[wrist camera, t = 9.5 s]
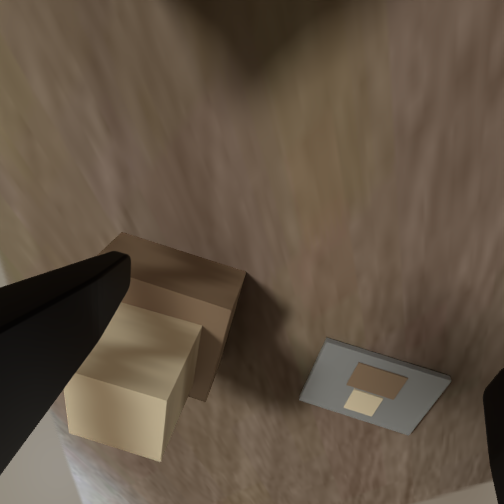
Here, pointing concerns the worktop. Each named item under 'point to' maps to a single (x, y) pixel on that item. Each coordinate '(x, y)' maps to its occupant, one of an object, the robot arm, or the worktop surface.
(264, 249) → the worktop surface
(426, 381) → the card
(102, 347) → the maple cube
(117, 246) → the walnut block
